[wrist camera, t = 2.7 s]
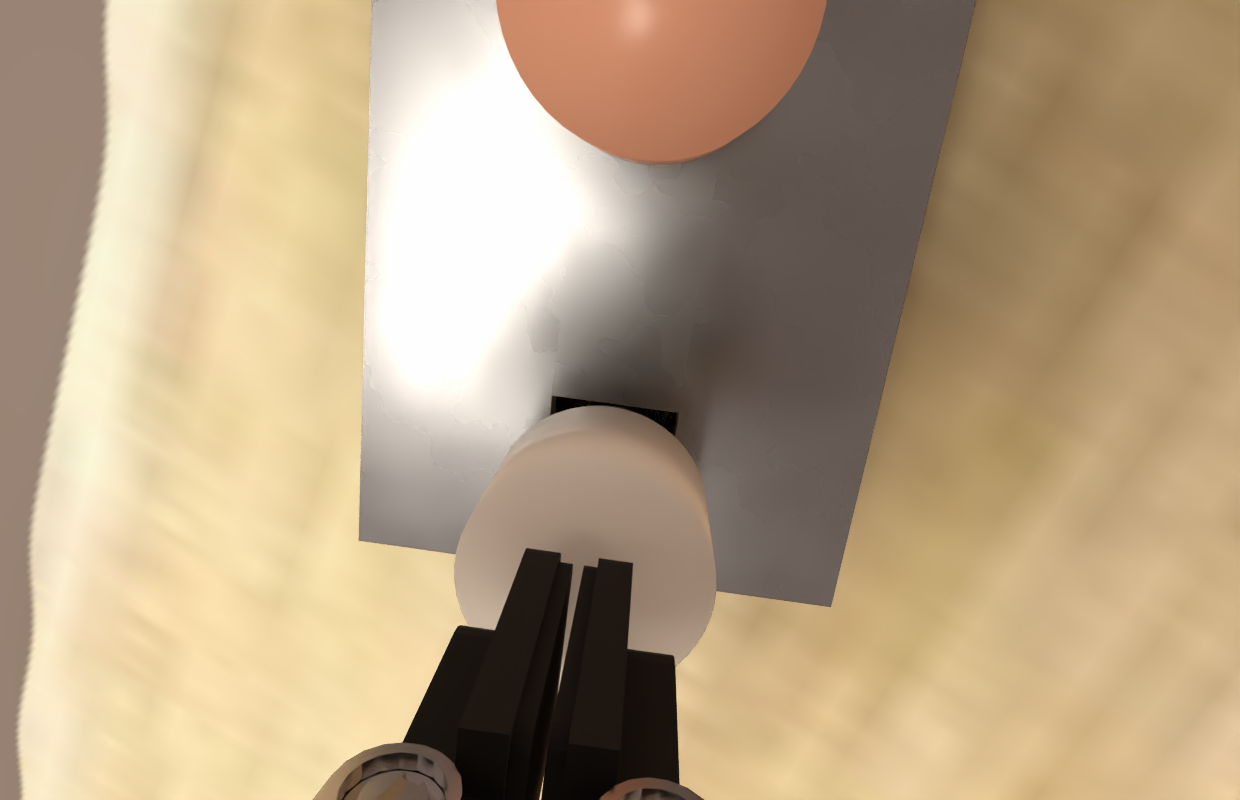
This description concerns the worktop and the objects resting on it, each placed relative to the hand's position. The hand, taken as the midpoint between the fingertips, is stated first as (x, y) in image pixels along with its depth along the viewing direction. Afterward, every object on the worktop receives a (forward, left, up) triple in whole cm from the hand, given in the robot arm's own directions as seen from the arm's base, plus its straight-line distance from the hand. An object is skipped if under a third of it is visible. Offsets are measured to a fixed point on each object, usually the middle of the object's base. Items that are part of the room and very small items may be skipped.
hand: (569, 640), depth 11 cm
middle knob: (-9, 0, -9) cm, 13 cm away
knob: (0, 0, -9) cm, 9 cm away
